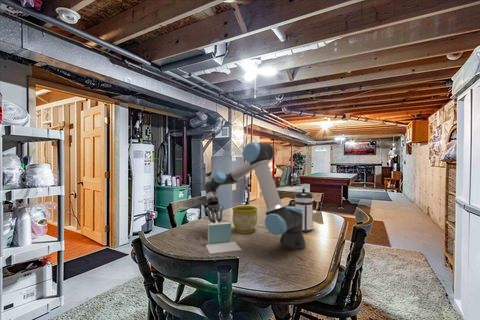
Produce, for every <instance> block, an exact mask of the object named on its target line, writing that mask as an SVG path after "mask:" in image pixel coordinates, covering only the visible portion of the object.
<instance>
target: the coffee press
mask: <svg viewBox="0 0 480 320" xmlns="http://www.w3.org/2000/svg"><path fill="white" fill-rule="evenodd" d="M292 203H294V207H299V208H301V209H302V211H303V231H304V233H305V234H307V233H308V231H310V230H312V231H315V228H314V226H313V225H314V223H313V218H314V217H313V216H314V215H313V214H314V213H313V212H314V210H313V209H314V208H313V207H314V205H313V204H314V195H313V194H312V193H311V192H309V191H306V188H302V191H298V192H296V193H295V194H294V199H291V200H289V202H288V206H292Z"/></svg>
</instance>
